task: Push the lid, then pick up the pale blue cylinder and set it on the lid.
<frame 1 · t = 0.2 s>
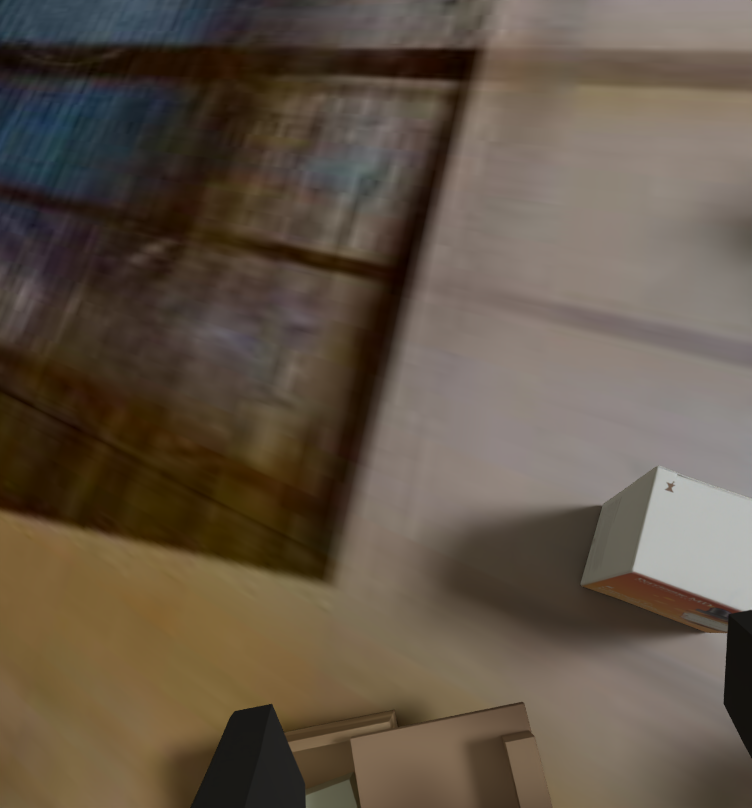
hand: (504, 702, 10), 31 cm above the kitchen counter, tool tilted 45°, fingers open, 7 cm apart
small box: (652, 566, 40), on the kitchen counter
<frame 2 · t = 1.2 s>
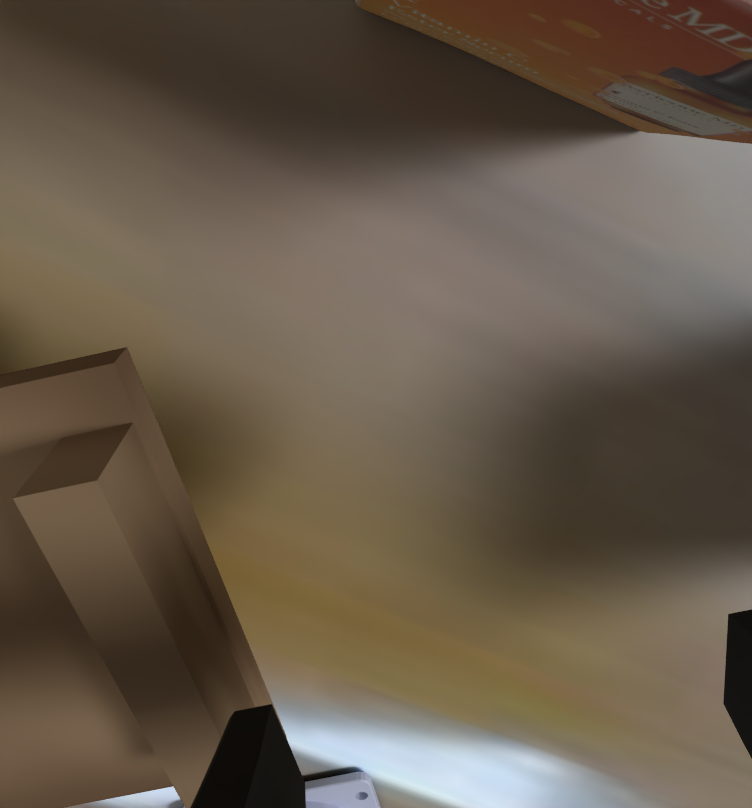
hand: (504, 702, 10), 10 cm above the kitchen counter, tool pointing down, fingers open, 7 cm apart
lid: (3, 662, 13), point 7 cm above the kitchen counter, slide at 7.0 cm
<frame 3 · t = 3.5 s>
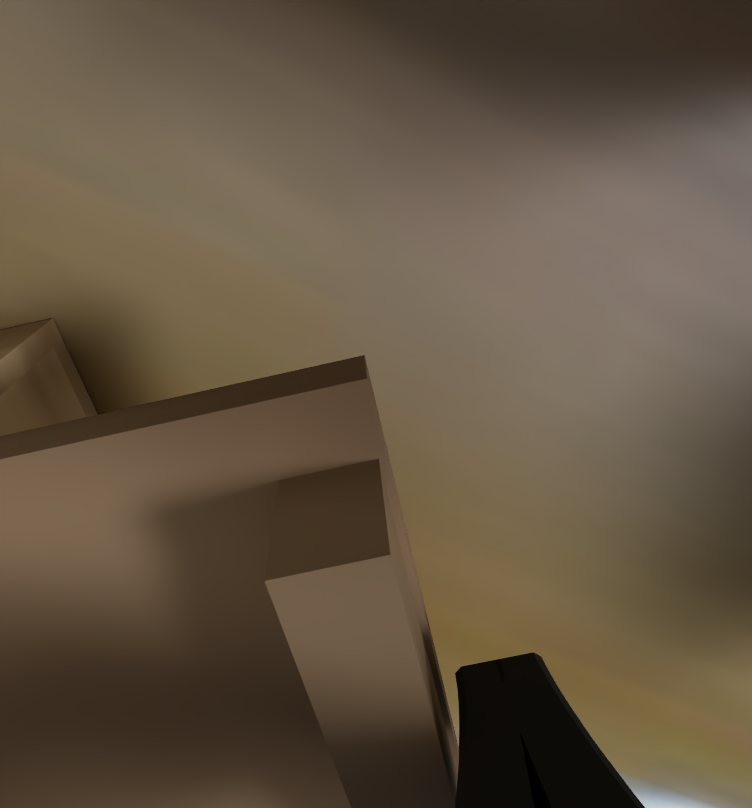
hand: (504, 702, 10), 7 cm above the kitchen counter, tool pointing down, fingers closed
lid: (173, 767, 10), point 7 cm above the kitchen counter, slide at 6.6 cm, touching gripper
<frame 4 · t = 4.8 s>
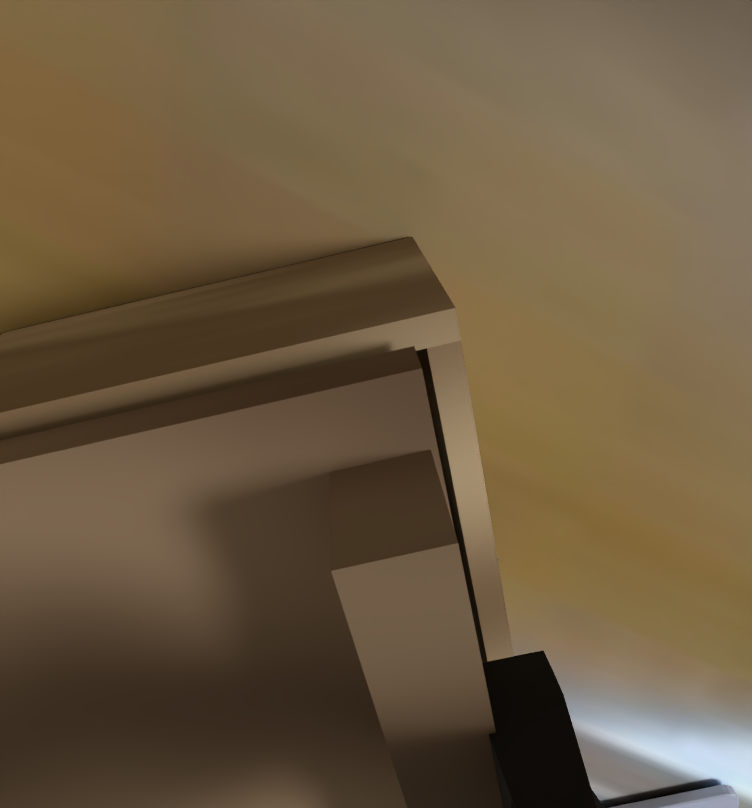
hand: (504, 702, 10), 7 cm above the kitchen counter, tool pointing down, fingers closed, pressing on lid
lid: (216, 764, 10), point 7 cm above the kitchen counter, slide at -0.7 cm, touching gripper
carton: (283, 509, 16), on the kitchen counter
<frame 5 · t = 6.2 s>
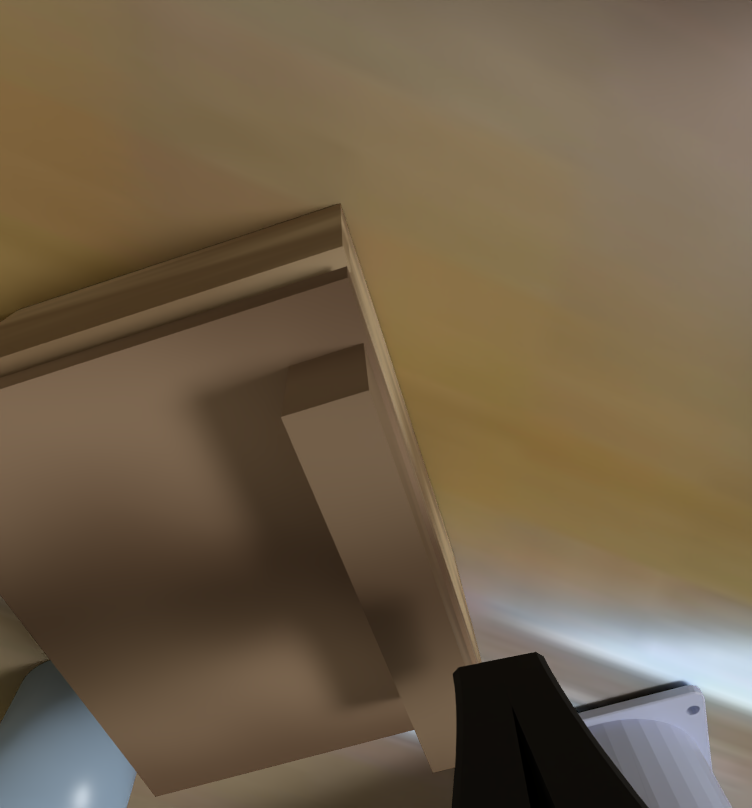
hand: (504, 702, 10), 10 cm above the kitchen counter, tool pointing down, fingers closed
lid: (227, 612, 13), point 7 cm above the kitchen counter, slide at 0.0 cm
carton: (261, 448, 19), on the kitchen counter
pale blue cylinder: (87, 702, 23), on the kitchen counter
when the fingers open (8 cm above the kitchen counter, at t = 11.8 s): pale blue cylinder stays where it is, resting on lid.
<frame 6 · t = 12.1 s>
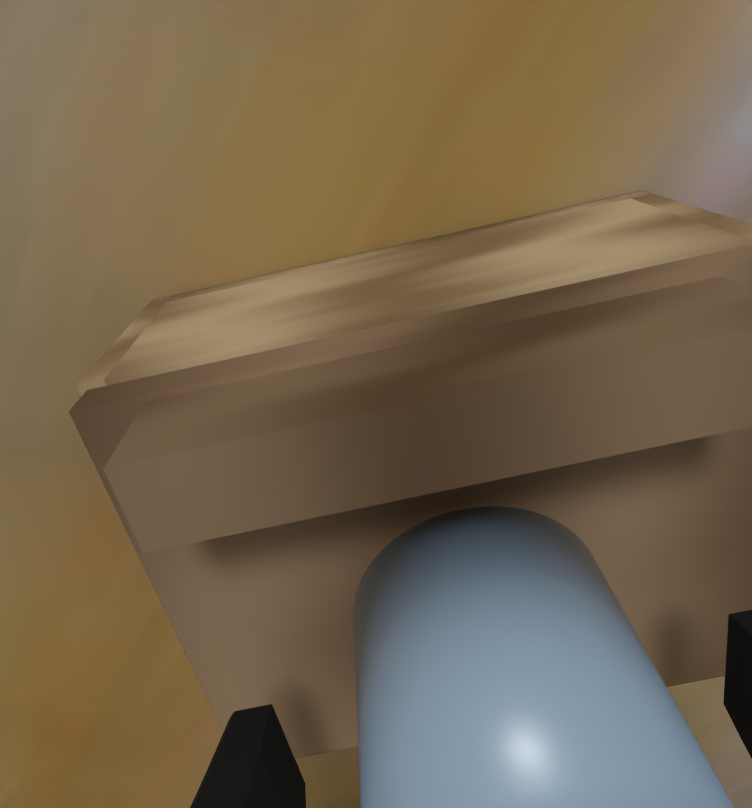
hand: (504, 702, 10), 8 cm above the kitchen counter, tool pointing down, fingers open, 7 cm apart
lid: (474, 581, 11), point 7 cm above the kitchen counter, slide at 0.0 cm, touching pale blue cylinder
carton: (425, 410, 17), on the kitchen counter
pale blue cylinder: (477, 609, 12), point 6 cm above the kitchen counter, touching lid
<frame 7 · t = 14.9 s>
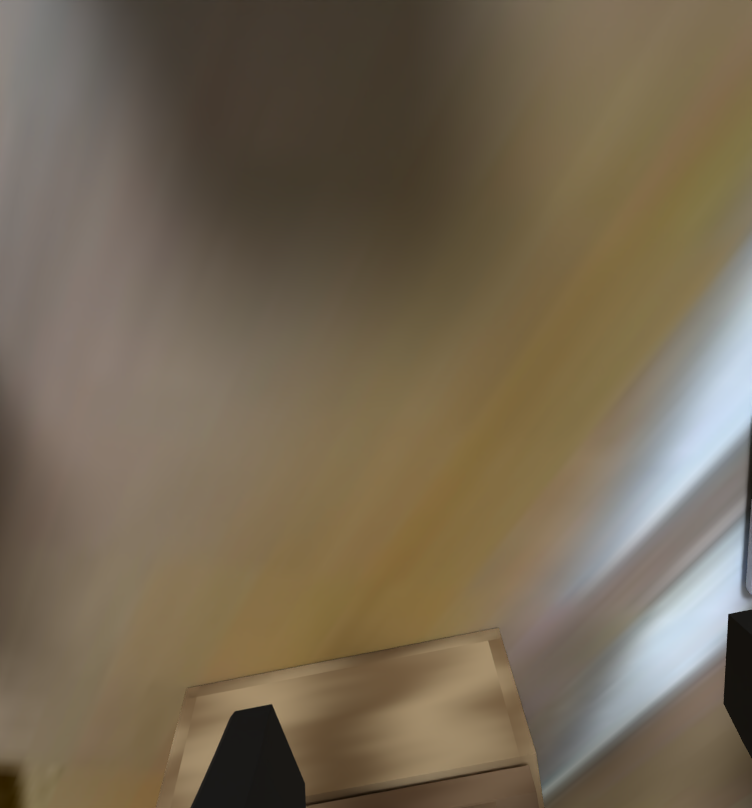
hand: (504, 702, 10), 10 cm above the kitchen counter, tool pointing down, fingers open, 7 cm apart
carton: (366, 735, 26), on the kitchen counter
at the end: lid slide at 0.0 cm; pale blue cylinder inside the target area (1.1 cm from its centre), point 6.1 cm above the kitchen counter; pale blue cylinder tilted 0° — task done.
